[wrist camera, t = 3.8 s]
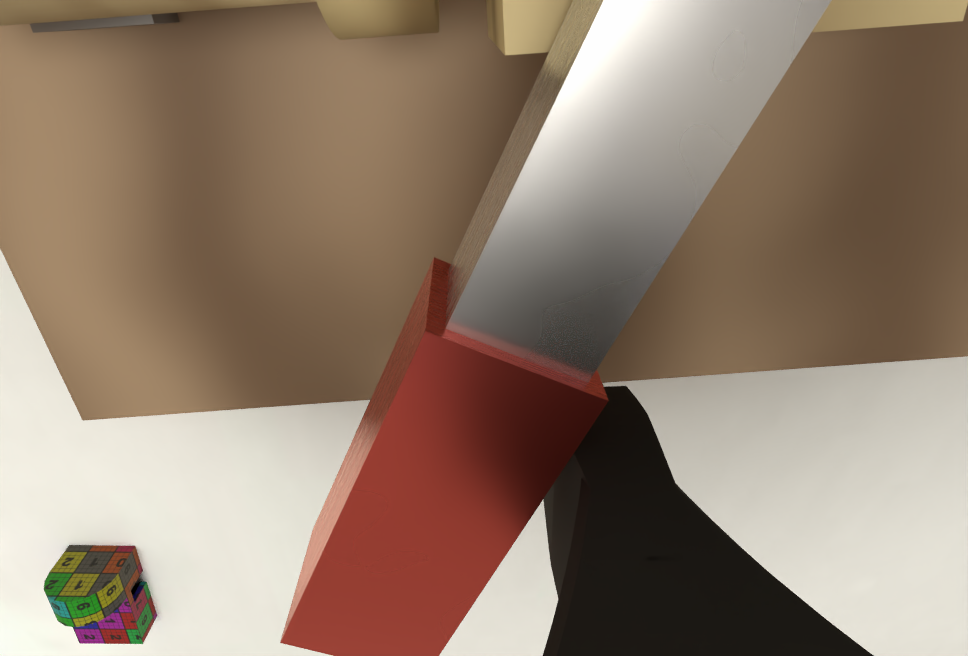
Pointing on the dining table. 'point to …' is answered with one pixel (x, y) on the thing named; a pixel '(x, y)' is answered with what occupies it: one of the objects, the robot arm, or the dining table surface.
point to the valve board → (440, 193)
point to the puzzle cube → (101, 594)
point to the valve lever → (532, 311)
